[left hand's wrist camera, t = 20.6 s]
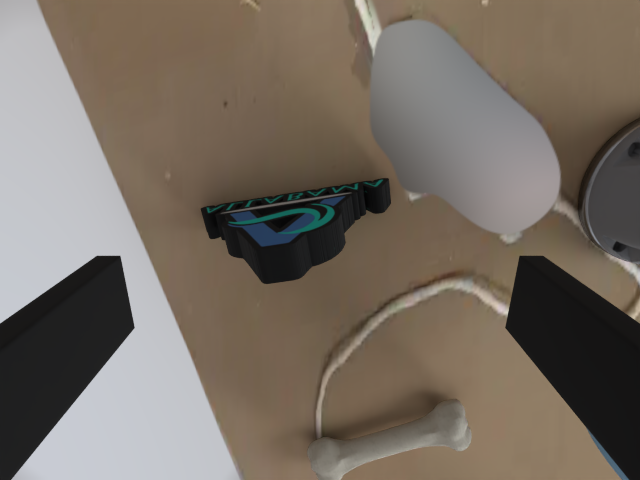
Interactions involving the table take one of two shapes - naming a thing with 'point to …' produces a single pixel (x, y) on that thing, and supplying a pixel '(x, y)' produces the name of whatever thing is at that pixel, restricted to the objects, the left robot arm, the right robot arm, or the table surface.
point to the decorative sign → (293, 226)
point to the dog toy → (391, 441)
